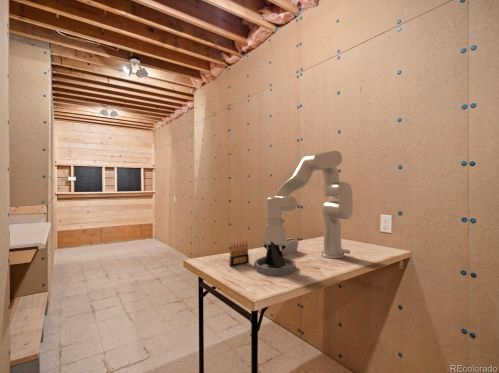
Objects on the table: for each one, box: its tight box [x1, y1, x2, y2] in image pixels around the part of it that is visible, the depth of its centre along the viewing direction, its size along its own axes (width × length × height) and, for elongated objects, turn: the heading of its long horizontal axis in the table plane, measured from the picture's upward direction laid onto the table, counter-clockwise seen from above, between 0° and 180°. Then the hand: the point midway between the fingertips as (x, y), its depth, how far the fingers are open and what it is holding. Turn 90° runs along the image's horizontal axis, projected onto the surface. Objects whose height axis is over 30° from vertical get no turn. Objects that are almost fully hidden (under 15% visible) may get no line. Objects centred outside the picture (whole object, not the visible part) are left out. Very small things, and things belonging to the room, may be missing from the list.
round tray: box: [253, 256, 296, 277], centre depth 127 cm, size 20×20×3 cm
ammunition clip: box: [228, 240, 250, 268], centre depth 133 cm, size 11×2×12 cm, turn 119°
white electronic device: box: [282, 237, 299, 256], centre depth 153 cm, size 17×5×10 cm, turn 128°
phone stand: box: [264, 242, 285, 268], centre depth 127 cm, size 9×6×12 cm, turn 37°
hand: (274, 257), depth 127 cm, fingers closed on phone stand, 4 cm apart
